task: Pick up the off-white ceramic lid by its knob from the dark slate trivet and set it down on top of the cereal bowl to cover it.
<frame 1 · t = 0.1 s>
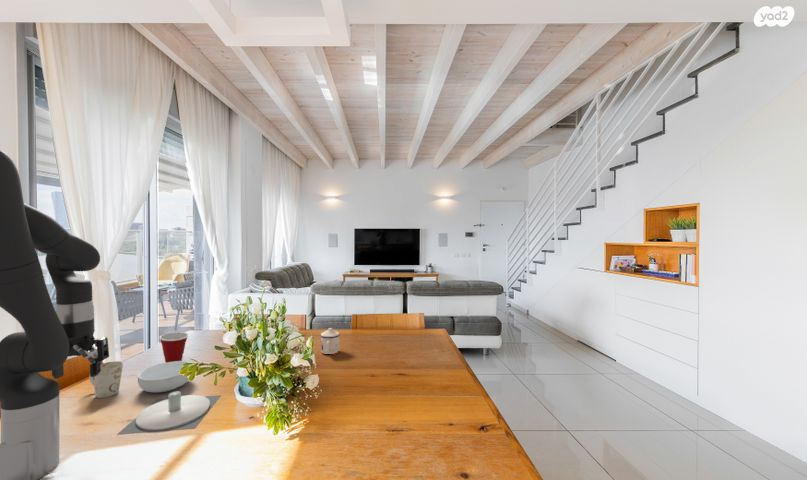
hand: (77, 376, 92), 17 cm above the table, tool pointing down, fingers open, 8 cm apart
plastic cup: (174, 362, 147), on the table
mug: (102, 393, 118), on the table
cereal bowl: (166, 389, 122), on the table
lid: (174, 412, 105), point 1 cm above the table, touching trivet
trivet: (174, 414, 105), on the table
teacup with lid: (329, 353, 160), on the table
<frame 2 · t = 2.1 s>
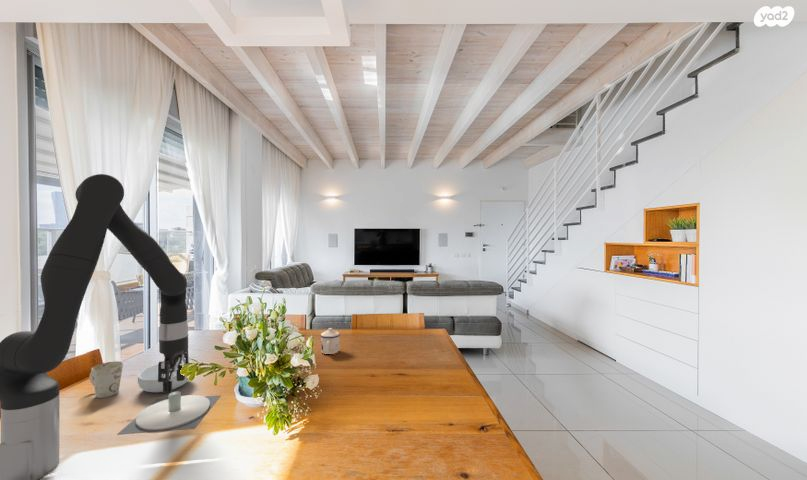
hand: (174, 386, 105), 9 cm above the table, tool pointing down, fingers open, 8 cm apart
nothing on the table moved.
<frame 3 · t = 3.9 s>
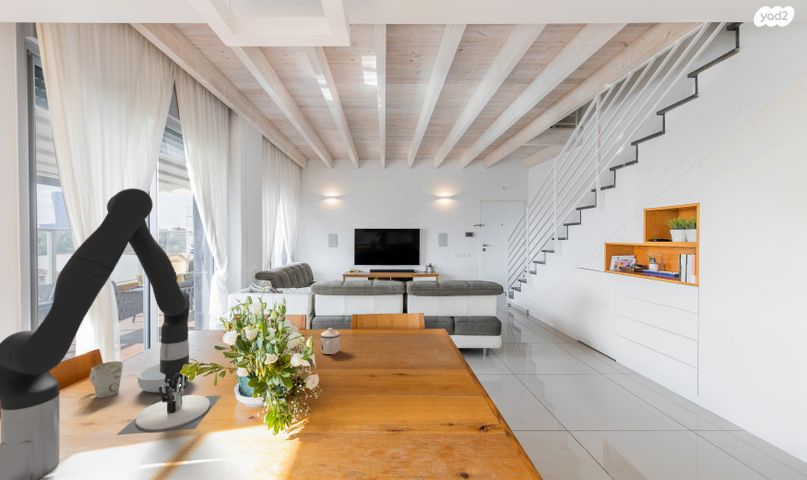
hand: (174, 409, 105), 2 cm above the table, tool pointing down, fingers closed on lid, 3 cm apart
lid: (174, 412, 105), point 1 cm above the table, touching gripper, trivet
everything else where it was.
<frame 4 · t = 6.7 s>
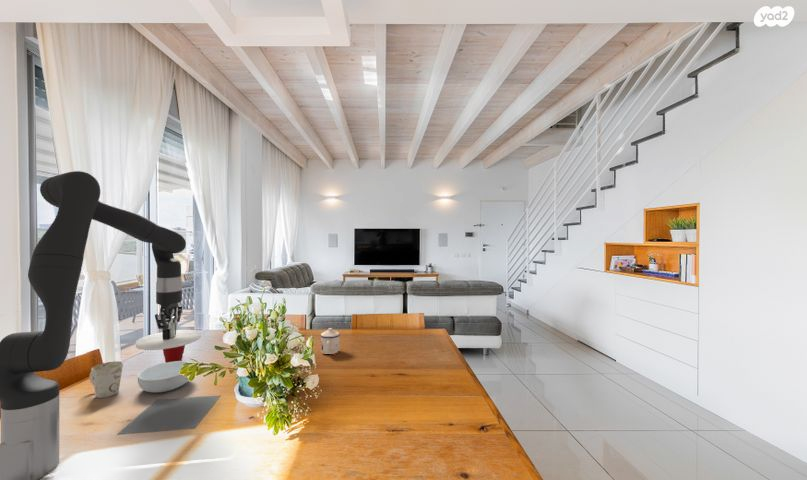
hand: (169, 337, 119), 20 cm above the table, tool pointing down, fingers closed on lid, 3 cm apart
lid: (169, 340, 119), point 19 cm above the table, touching gripper
everything else where it was.
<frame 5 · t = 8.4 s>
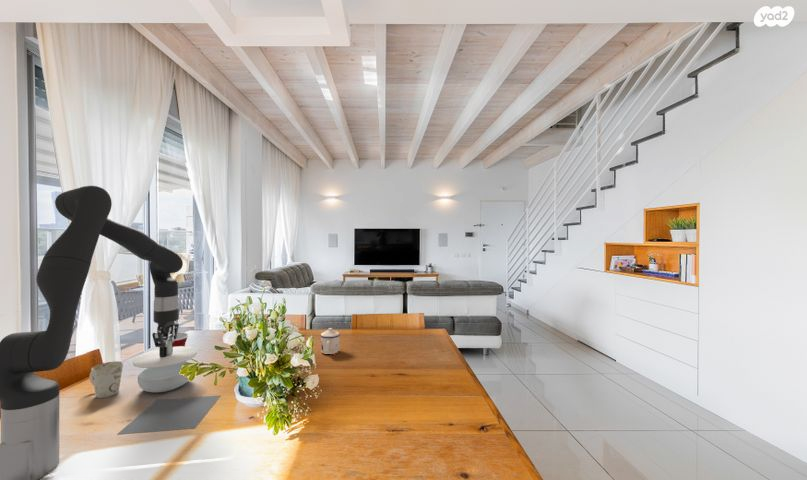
hand: (166, 354, 122), 12 cm above the table, tool pointing down, fingers closed on lid, 3 cm apart
lid: (166, 357, 122), point 11 cm above the table, touching gripper
everything else where it was.
when the fingers open (9 cm above the table, at t = 9.7 s): lid drops 1 cm, resting on cereal bowl.
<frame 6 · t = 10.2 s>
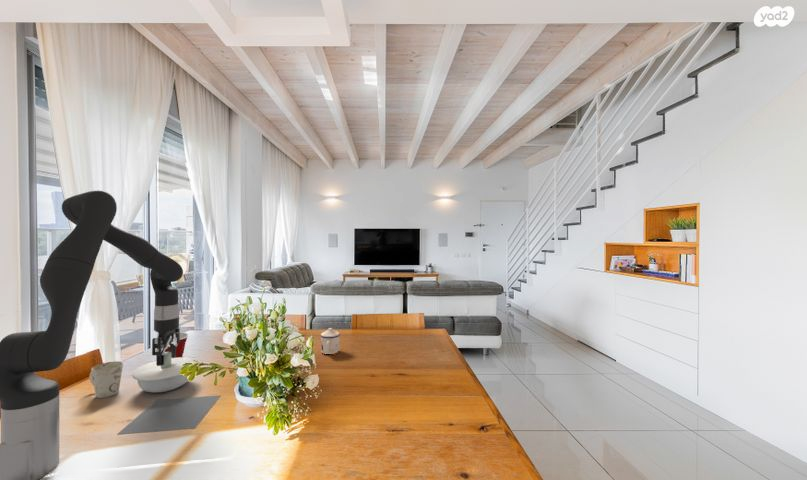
hand: (166, 361, 122), 10 cm above the table, tool pointing down, fingers open, 8 cm apart
cereal bowl: (166, 389, 122), on the table, touching lid
lid: (166, 369, 122), point 7 cm above the table, touching cereal bowl
everything else where it was.
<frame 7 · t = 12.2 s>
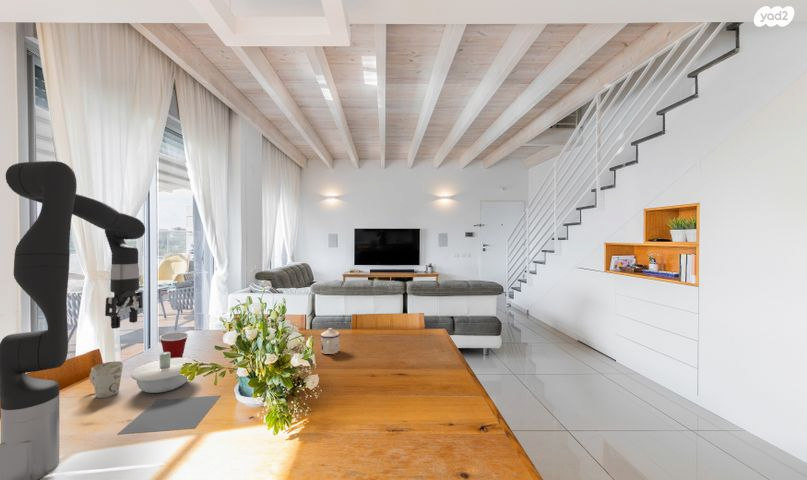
hand: (124, 325, 113), 26 cm above the table, tool pointing down, fingers open, 8 cm apart
nothing on the table moved.
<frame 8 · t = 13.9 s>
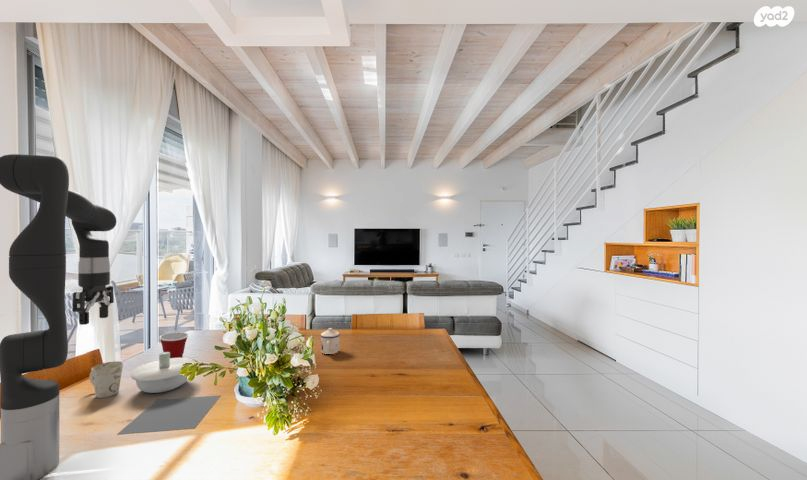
hand: (94, 320, 108), 28 cm above the table, tool pointing down, fingers open, 8 cm apart
nothing on the table moved.
at the end: lid 0.2 cm from the cereal bowl (horizontally); lid point 7.0 cm above the table; lid tilted 0° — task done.
